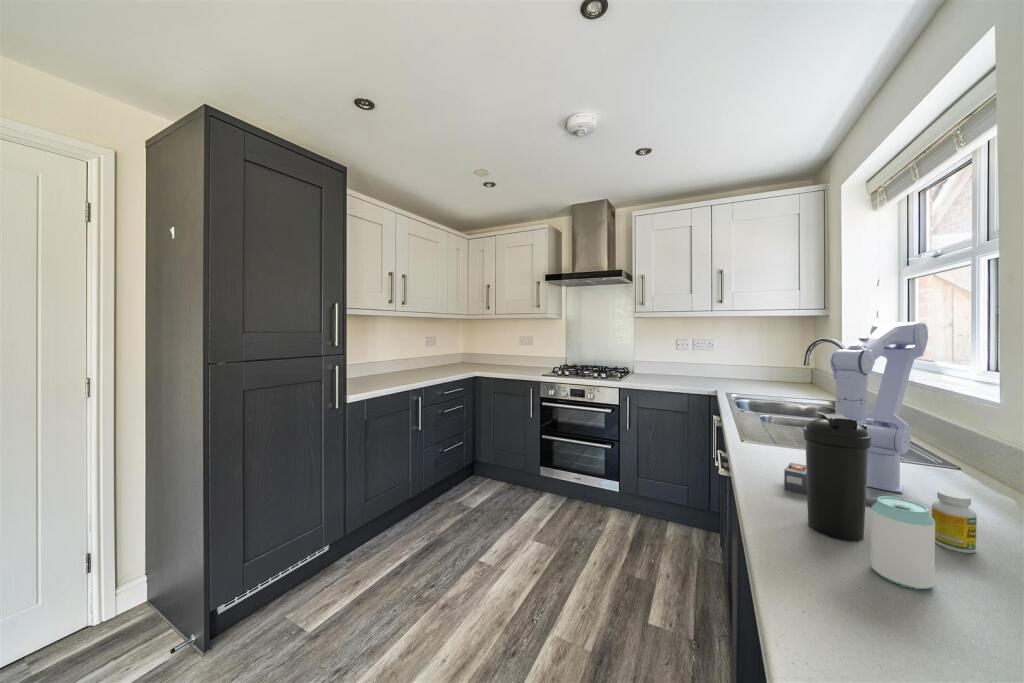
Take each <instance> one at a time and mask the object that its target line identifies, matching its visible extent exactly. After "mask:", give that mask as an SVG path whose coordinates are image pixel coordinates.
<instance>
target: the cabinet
mask: <svg viewBox="0 0 1024 683" xmlns="http://www.w3.org/2000/svg"><path fill="white" fill-rule="evenodd" d="M792 465H796V466H800V467H803V471H800V470H795V469H791V466H792ZM783 478H784V480H783V482H784V484H783V485H784V487H783V488H784V491H787V490H788V492H792V493H796V492H797V493H796V494H800V493H801V494H800V495H804V494H805V496H807V473H806V464H800V463H795V462H789V464H788V465H787V466H786V467H785V469H784V477H783Z"/></svg>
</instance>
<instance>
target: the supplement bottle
mask: <svg viewBox="0 0 1024 683" xmlns="http://www.w3.org/2000/svg"><path fill="white" fill-rule="evenodd" d="M936 498H937V499H938V500H935V501H933V502H932V503H931V517H932V518H933V519H934V521H935V544H937V546H940V547H942V548H945V549H947V550H950V551H954V552H959V553H963V554H973V553H975V552H977V551H976V550H977V518H978V516H977V512H976V511H975V509H973V508H972V507H970V506H971V504H972V497H971V496H970V495H968V494H965V493H961V492H957V491H953V490H944V489H940V490H939V489H938V490H937V496H936Z"/></svg>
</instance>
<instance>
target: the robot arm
mask: <svg viewBox="0 0 1024 683" xmlns="http://www.w3.org/2000/svg"><path fill="white" fill-rule="evenodd" d="M928 330H929V329H928V326H927V325H926V323H924V322H923V321H922V320H921V321H920V320H919V321H905V322H880V321H879V322H875V323H874V324H873V325H871V328H870V334H869V336H860V337H859V338H858V339H857V340H856V341H854V342H853V343H852V344H851V345H849V346H848V347H846V348H845V349H838V350H836V351H834V352H832V355H831V357H830V361H829V362H830V364H829V365H830V368H831V371H832V377H833V379H834V380H835V412H834V413H840V414H844V415H845V416H844V417H846V418H850V419H855V420H856V421H857V424H858V425H860V426H862V427H863V428H864V429H865V430H866V431H867V433H868V434H869V435H870V436H871V445H870V448H869V449H868V465H867V485H866V487H869V488H874V489H878V490H884V491H888V492H893V493H898V494H903V484H902V483H903V482H902V481H901V455H904V454H906V453H907V452H909V450H910V447H911V442H912V440H911V434H912V429H911V426H910V425H909V424H908V423H907V422H906V421H905V420H903V419H902V418H901V417H900V416H899V415H900V414H901V409H902V406H903V405H902V404H903V402H904V397H905V393H906V389H907V387H908V382H909V378H910V375H911V370H912V368H913V365H914V361H915V360H916V359H919V358H920V357H923V356H924V353H925V351H926V349H927V345H928V340H929V331H928ZM880 357H882V358H885V359H886V363H885V366H884V371H883V373H882V374H883V375H882V377H881V381H880V384H879V386H878V387H879V388H878V391H877V396H876V398H875V402H874V406H873V409H872V411H869V412H868V375H869V374H871V373H872V371H873V368H874V365H875V363H876V360H877V359H878V358H880Z"/></svg>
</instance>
